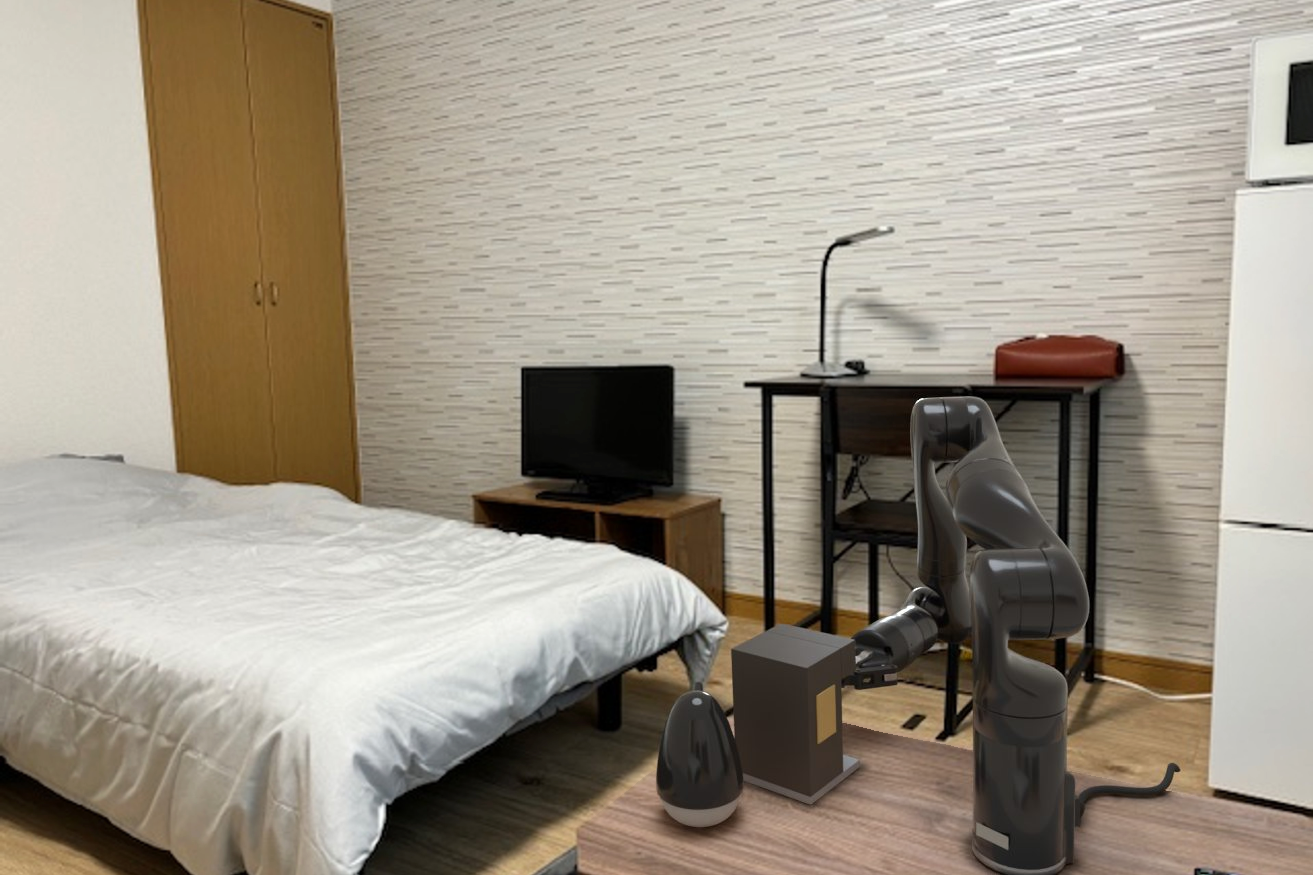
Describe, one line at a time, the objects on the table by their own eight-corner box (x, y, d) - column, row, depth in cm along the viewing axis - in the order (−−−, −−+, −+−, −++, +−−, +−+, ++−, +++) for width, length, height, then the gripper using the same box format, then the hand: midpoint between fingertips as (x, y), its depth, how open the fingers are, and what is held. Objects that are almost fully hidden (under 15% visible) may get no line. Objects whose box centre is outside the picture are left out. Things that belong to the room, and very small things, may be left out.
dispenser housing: (787, 743, 132) (783, 621, 130) (861, 767, 125) (858, 638, 123) (735, 777, 124) (730, 648, 121) (812, 805, 117) (808, 668, 114)
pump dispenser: (745, 792, 120) (740, 673, 118) (744, 839, 110) (739, 710, 108) (661, 791, 121) (656, 674, 119) (653, 838, 111) (646, 711, 109)
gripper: (844, 612, 144) (777, 649, 131) (929, 630, 135) (866, 670, 122) (845, 662, 145) (778, 702, 132) (930, 682, 136) (867, 728, 124)
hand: (821, 687), depth 127 cm, fingers closed
